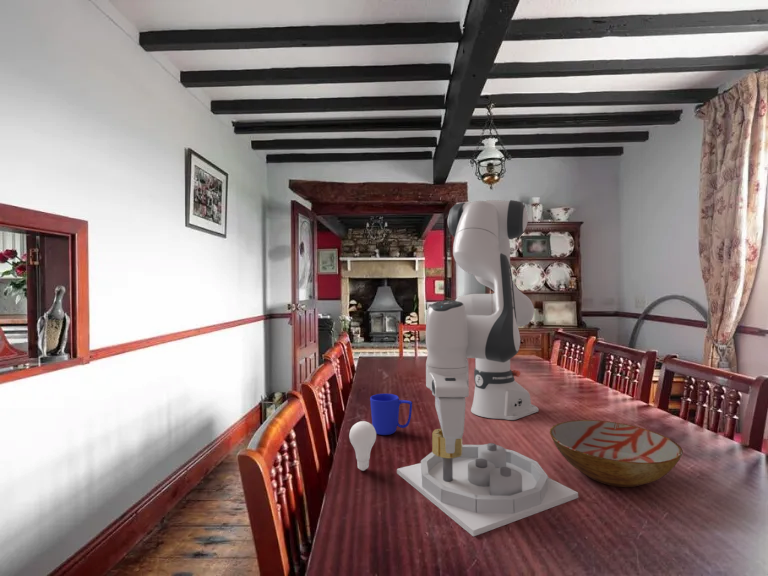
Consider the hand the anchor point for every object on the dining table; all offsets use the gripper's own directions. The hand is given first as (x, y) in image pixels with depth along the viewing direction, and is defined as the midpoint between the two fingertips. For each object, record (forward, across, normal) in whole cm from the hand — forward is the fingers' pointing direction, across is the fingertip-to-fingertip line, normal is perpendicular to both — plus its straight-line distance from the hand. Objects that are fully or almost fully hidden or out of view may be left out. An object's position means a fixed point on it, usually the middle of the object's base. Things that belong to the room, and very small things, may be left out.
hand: (447, 444), depth 85 cm
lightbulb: (+9, -6, -18) cm, 21 cm away
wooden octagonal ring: (+2, 0, 0) cm, 2 cm away
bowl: (+9, -5, +36) cm, 38 cm away
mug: (+9, -30, -13) cm, 34 cm away
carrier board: (+8, 0, +7) cm, 11 cm away
